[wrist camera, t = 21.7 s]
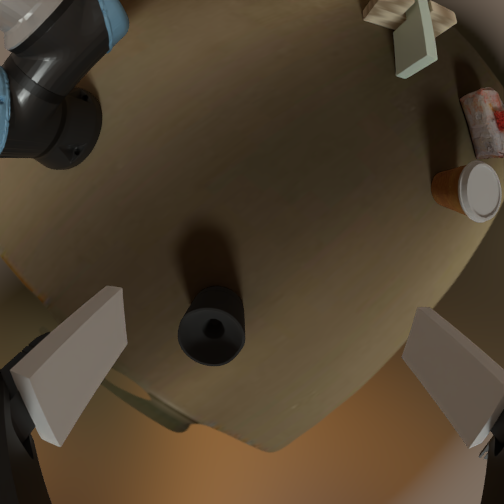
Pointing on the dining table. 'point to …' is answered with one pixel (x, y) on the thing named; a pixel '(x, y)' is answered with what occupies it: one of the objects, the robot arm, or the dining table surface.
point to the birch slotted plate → (393, 14)
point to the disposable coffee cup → (469, 190)
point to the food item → (485, 122)
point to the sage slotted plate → (414, 41)
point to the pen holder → (213, 327)
